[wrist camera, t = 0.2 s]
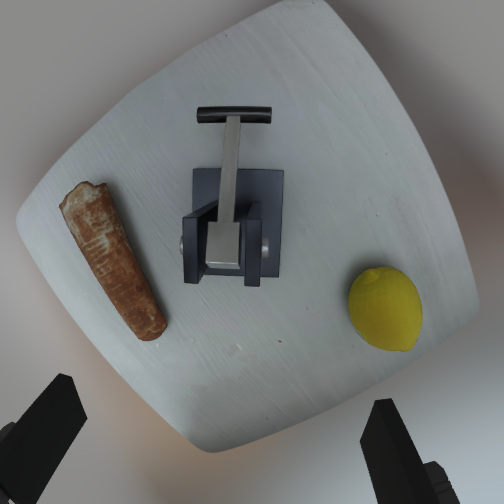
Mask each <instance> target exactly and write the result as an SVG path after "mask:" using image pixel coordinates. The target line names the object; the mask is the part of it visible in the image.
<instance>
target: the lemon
mask: <svg viewBox="0 0 504 504" xmlns="http://www.w3.org/2000/svg"><path fill="white" fill-rule="evenodd" d="M348 309H349V316H350V318H351V321H352V324H353V326H354V328H355V330H356V332H357V333H358V334H359V336H360V337H361V338H362V339H364V340H365V341H366V342H367V343H369V344H370V345H372V346H374V347H377V348H380V349H383V350H387V351H403V352H407V351H409V350H410V349H411V348H413V346H414V345H415V343H416V340H417V337H418V335H419V333H420V329H421V325H422V304H421V300H420V297H419V294H418V292H417V289H416V287H415V285H414V284H413V283H412V281H411V280H410V279H409V278H408V277H407V276H406V275H405V274H403V273H402V272H401V271H399V270H397V269H395V268H392V267H386V266H384V267H377V268H374V269H371V268H369V269H366V270H365V271H364V272H363V273H362V274H361V275H359V276H358V277H357V278H356V280H355V281H354V282H353V284H352V286H351V290H350V292H349V295H348Z"/></svg>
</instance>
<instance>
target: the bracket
mask: <svg viewBox="0 0 504 504" xmlns="http://www.w3.org/2000/svg"><path fill="white" fill-rule="evenodd" d="M221 170H222V169H193V212H192V213H190V214H188V215H186V216H185V217H183V218H182V223H183V235H182V236H181V240H180V252H181V254H182V255H183V265H184V283H191V284H198V283H199V282H200V280H201V278H202V276H203V275H225V276H244V286H253V287H259V286H260V277H277V278H278V277H279V264H280V246H281V225H282V203H283V177H284V171H283V170H262V169H238V173H237V189H236V205H235V222H239V223H241V228H242V248H241V268H240V269H223V268H210V267H209V266H208V265H207V264H206V263H205V251H206V237H207V224H208V222H217V220H218V206H219V194H220V182H221Z"/></svg>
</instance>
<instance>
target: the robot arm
mask: <svg viewBox="0 0 504 504" xmlns="http://www.w3.org/2000/svg"><path fill="white" fill-rule="evenodd" d="M86 420H87V416H86V414H85V411H84V409H83V406H82V404H81V401H80V398H79V396H78V393H77V390H76V387H75V385H74V382H73V379H72V377H71V376H67V375H64V374H61V373H60V374H58V375H57V376H56V377H55V379H54V380H53V381H52V382H51V383H50V384H49V385H48V386H47V388H46V389H45V390H44V391H43V392H42V393H41V395H40V396H39V397H38V398H37V399H36V400H35V401H34V402H33V404H32V405H31V406H30V407H29V408H28V410H27V411H26V412H25V413H24V414H23V415H22V417H21V418H20V419H19V421H17V423H14V422H11V423H9V424H7V425H6V426H4V427H3V428H2V429H1V430H0V504H9V502H8V501H9V499H11V500H12V501H13V502H14V503H15V504H36V503H37V501H38V499H39V498H40V496H41V494H42V492H43V491H44V489H45V487H46V485H47V484H48V482H49V480H50V479H51V477H52V475H53V474H54V472H55V470H56V468H57V467H58V465H59V464H60V462H61V460H62V459H63V457H64V455H65V454H66V452H67V450H68V449H69V447H70V445H71V444H72V442H73V441H74V439H75V438H76V436H77V434H78V433H79V431H80V430H81V428H82V426H83V425H84V423H85V422H86ZM360 444H361V448H362V451H363V454H364V457H365V461H366V464H367V467H368V471H369V474H370V477H371V481H372V484H373V488H374V491H375V495H376V498H377V502H378V504H460V502H459V500H458V498H457V496H456V494H455V491H454V489H452V485H451V483H450V481H448V477H447V475H446V473H445V471H444V469H443V468H442V467H441V466H440V465H439V464H438V463H437V462H435V461H432V462H429V463H425V464H423V463H422V460H421V458H420V456H419V454H418V452H417V450H416V448H415V446H414V444H413V441H412V439H411V437H410V435H409V433H408V431H407V429H406V427H405V425H404V423H403V420H402V419H401V417H400V414H399V412H398V410H397V409H396V406H395V404H394V402H393V400H392V399H391V398H389V399H381V400H375V402H374V405H373V408H372V411H371V413H370V416H369V419H368V421H367V424H366V427H365V429H364V432H363V434H362V437H361V439H360Z"/></svg>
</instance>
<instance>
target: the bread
mask: <svg viewBox="0 0 504 504" xmlns="http://www.w3.org/2000/svg"><path fill="white" fill-rule="evenodd" d="M59 208H60V209H61V212H62V215H63V217H64V220H65V222H66V224H67V226H68V228H69V229H70V231H71V233H72V235H73V237H74V239H75V241H76V243H77V245H78V247H79V248H80V250H81V252H82V254H83V255H84V257H85V259H86V260H87V262H88V264H89V266H90V268H91V270H92V272H93V273H94V275H95V277H96V278H97V280H98V281H99V283H100V285H101V286H102V288H103V289H104V291H105V293H106V294H107V296H108V297H109V299H110V300H111V302H112V303H113V305H114V306H115V308H116V309H117V311H118V312H119V314H120V315H121V316H122V318H123V319H124V321H125V322H126V323H127V325H128V326H129V328H130V329H131V330H132V331H133V332H134V334H135V335H136V336H137V337H138V339H140V340H142V341H152V340H155V339H157V338H158V337H160V336H161V335H162V333H163V332H164V330H165V329H166V328H167V325H168V324H167V322H166V320H165V318H164V317H163V315H162V313H161V311H160V309H159V308H158V306H157V304H156V301H155V299H154V297H153V295H152V291H151V289H150V287H149V285H148V283H147V281H146V279H145V277H144V275H143V273H142V271H141V269H140V267H139V264H138V262H137V260H136V257H135V256H134V254H133V251H132V249H131V247H130V244H129V242H128V240H127V237H126V235H125V232H124V230H123V226H122V223H121V221H120V219H119V216H118V214H117V211H116V208H115V206H114V203H113V200H112V197H111V195H110V192H109V190H108V187H107V185H106V183H102V184H99V185H96V186H93V185H92V184H91V183H89V182H88V181H85V182H81V183H79V184H78V185H77V186H76V187H75V188H74V190H72V191H70V192H69V193H68V194H67V195H66V196H65V198H64V200H63V202H62V203H61V204H60V205H59Z"/></svg>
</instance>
